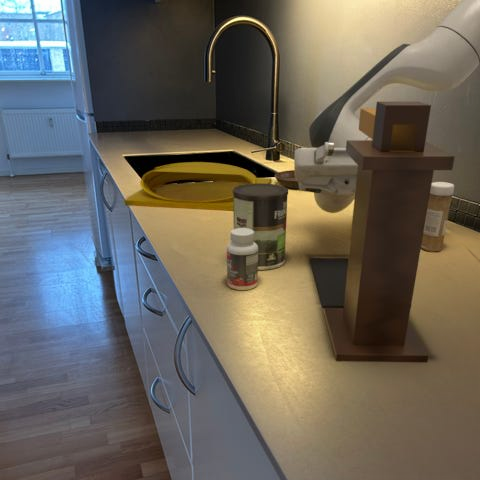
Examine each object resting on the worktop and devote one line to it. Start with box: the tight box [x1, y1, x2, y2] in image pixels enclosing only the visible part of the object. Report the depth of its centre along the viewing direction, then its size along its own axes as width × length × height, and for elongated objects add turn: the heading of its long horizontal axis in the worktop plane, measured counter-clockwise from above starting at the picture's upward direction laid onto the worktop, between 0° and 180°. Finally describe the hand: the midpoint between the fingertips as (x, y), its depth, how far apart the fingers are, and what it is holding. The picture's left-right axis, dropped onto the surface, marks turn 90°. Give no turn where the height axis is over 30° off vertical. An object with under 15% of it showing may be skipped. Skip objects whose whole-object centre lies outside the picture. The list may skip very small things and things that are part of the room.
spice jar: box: [421, 181, 455, 252], centre depth 104 cm, size 5×5×13 cm
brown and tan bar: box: [359, 101, 432, 152], centre depth 67 cm, size 5×20×5 cm, turn 178°
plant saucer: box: [274, 169, 300, 190], centre depth 160 cm, size 18×18×3 cm
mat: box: [309, 257, 349, 309], centre depth 91 cm, size 12×22×1 cm, turn 178°
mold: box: [124, 161, 272, 212], centre depth 149 cm, size 35×35×9 cm
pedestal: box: [323, 140, 456, 363], centre depth 68 cm, size 12×14×26 cm
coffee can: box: [232, 183, 289, 271], centre depth 97 cm, size 10×10×14 cm
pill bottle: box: [226, 228, 259, 291], centre depth 88 cm, size 5×5×10 cm
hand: (358, 146), depth 84 cm, fingers open, 8 cm apart
